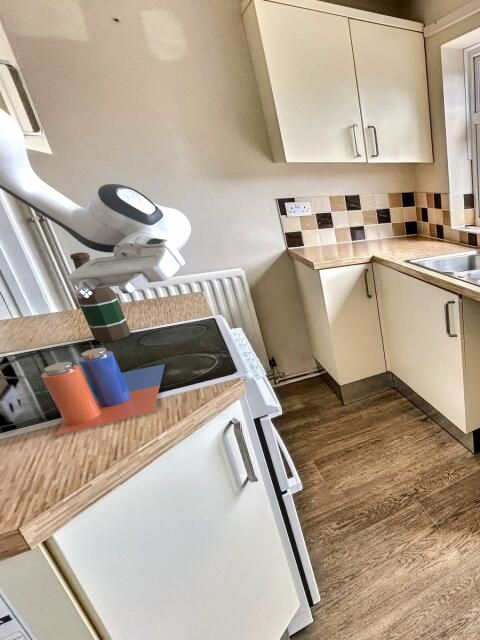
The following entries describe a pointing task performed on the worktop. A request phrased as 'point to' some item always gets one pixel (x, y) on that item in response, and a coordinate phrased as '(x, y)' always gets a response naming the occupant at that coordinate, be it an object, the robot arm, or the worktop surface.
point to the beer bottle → (102, 309)
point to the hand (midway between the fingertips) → (102, 293)
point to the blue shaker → (104, 377)
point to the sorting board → (141, 402)
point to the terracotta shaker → (70, 393)
